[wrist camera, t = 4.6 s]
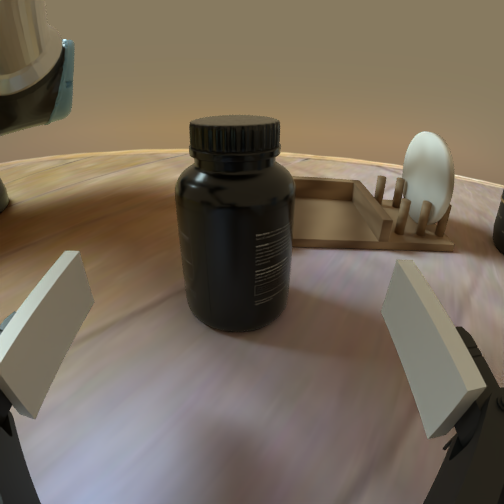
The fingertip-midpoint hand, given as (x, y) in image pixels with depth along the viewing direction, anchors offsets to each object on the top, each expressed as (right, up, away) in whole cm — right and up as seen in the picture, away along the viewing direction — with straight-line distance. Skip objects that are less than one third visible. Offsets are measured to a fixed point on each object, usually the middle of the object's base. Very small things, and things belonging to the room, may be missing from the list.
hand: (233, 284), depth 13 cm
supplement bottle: (0, -2, +10) cm, 10 cm away
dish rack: (+11, +4, +21) cm, 24 cm away
